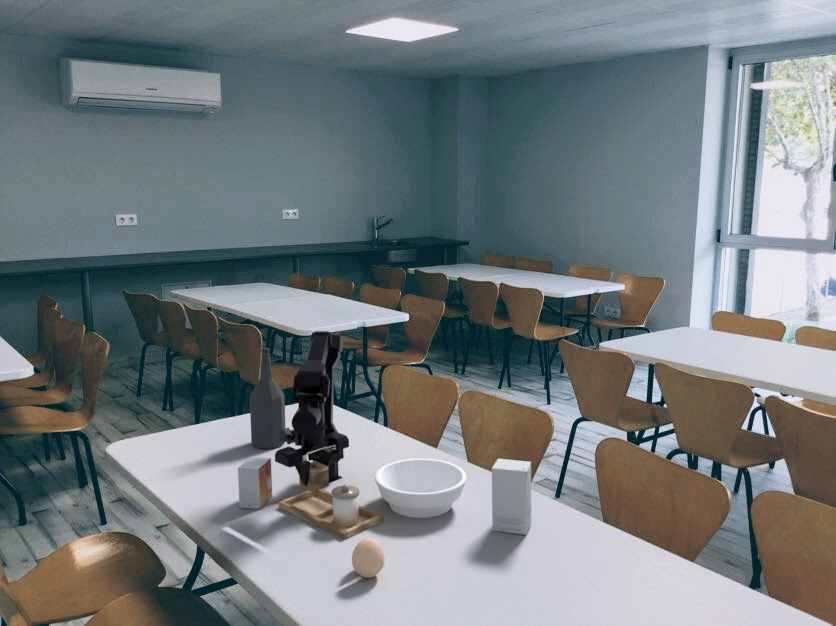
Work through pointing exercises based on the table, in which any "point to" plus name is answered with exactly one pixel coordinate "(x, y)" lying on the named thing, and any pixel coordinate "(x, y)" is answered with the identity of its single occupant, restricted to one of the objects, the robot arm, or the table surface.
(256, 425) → the bottle
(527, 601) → the table surface
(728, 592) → the table surface
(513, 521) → the skincare box
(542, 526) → the table surface
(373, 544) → the egg
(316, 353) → the robot arm
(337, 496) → the sugar jar
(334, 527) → the caddy
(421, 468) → the bowl
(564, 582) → the table surface
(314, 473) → the beige box
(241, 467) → the small box
